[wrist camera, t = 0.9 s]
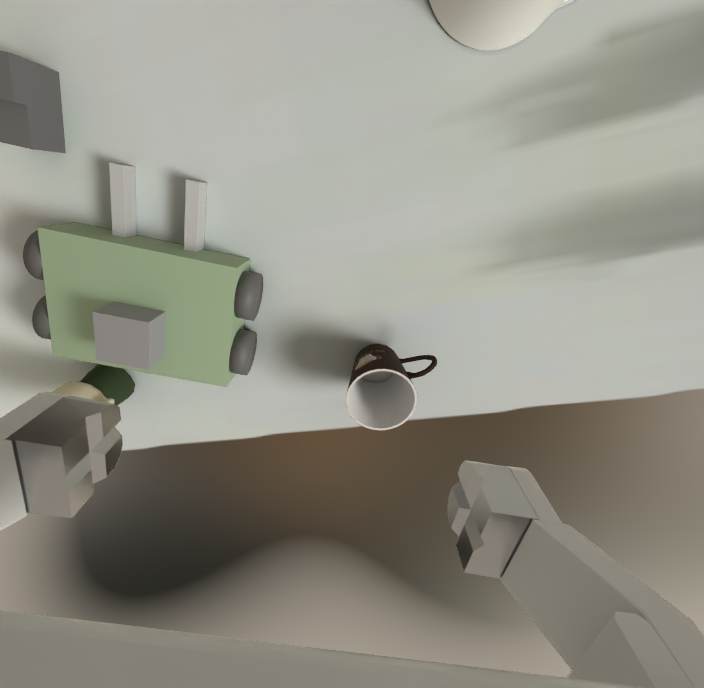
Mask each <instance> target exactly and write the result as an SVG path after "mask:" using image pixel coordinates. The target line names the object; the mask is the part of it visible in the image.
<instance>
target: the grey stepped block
mask: <svg viewBox="0 0 704 688" xmlns="http://www.w3.org/2000/svg"><path fill="white" fill-rule="evenodd" d="M0 142H3V143H7V144H12V145H16V146H21V147H25V148H30V149H36V150H44V151H53V152H61V153H66V152H65V140H64V128H63V116H62V104H61V92H60V80H59V72H57V71H54V70H52V69H49V68H46V67H44V66H41V65H39V64H36V63H34V62H31V61H28V60H26V59H23V58H21V57H18V56H16V55H13V54H10V53H8V52H4V51H0Z"/></svg>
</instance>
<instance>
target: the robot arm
mask: <svg viewBox="0 0 704 688" xmlns="http://www.w3.org/2000/svg"><path fill="white" fill-rule="evenodd" d="M573 1H575V0H429V2H430V5H431V7H432V10H433V12H434V14H435V16H436V18H437V20H438V21H439V23H440V24H441V26H442V27H443V28H444V29H445V31H446V32H447V33H448V34H449V35H450V36H451V37H453V38H454V39H455V40H457V41H458V42H460V43H461V44H463V45H465V46H468V47H470V48H474V49H478V50H497V49H502V48H506V47H509V46H511V45H513V44H516V43H518V42H519V41H521V40H523V39H524V38H526V37H527V36H528V35H530V34H531V33H532V32H533V31H535V30H536V29H537V28H538V27H539V26H540V25H541V24H542V23H543V22H544V21H545V19H546V18H547V17H548V16H549V15H550V14H551V13H553V12H554V11H555V10H556V9H558V8H561V7H563V6H565V5H567V4H569V3H571V2H573ZM120 420H121V415H120V408H119V407H118V406H117V405H116V404H113V403H108V402H102V401H97V400H91V399H86V398H80V397H75V396H68V395H63V394H57V393H51V392H44V393H39V394H37V395H36V396H34V397H33V398H31V399H30V400H28V401H26V402H25V403H23V404H22V405H20V406H19V407H17V408H16V409H14V410H13V411H11V412H10V413H8V414H6V415H5V416H3V417H2V418H0V531H1V530H2V529H4V528H6V527H8V526H9V525H11V524H13V523H15V522H16V521H18V520H20V519H22V518H23V517H25V516H27V513H30V514H40V515H49V516H58V517H67V518H72V517H73V516H74V515H75V514H76V513H77V511H78V510H79V509H80V508H81V507H82V506H83V504H84V503H85V502H86V501H87V500H88V499H89V497H90V496H91V495H92V494H93V493H94V492H93V484H94V483H96V482H98V481H100V480H102V479H104V478H106V477H107V476H108V475H109V474H110V473H111V471H112V470H113V469H114V468H115V466H116V464H117V462H118V459H119V457H120V455H121V450H122V435H121V434H120V433H119V431H118V430H117V429H116V428H115V426H116V425H117V424H118V423H119V421H120ZM458 475H459V478H460V482H459V483H457V484H456V485H455V486H453V487H452V489H451V492H450V495H449V499H448V518H449V522H450V526H451V528H452V529H453V530H454V531H455V533H456V534H457V535H458V536H459V539H458V541H457V543H456V547H457V551H458V554H459V557H460V561H461V564H462V568H463V571H464V572H466V573H472V574H478V575H483V576H489V577H495V578H501V582H502V583H503V584H504V585H505V587H506V588H507V589H508V590H509V592H510V593H511V594H512V596H513V597H514V598H515V599H516V600H517V602H518V603H519V604H520V605H521V607H522V608H523V609H524V611H525V612H526V613H527V614H528V615H529V617H530V618H531V619H532V620H533V622H534V623H535V624H536V626H537V627H538V628H539V629H540V631H541V632H542V633H543V634H544V636H545V637H546V638H547V639H548V640H549V642H550V643H551V644H552V646H553V647H554V648H555V649H556V651H557V652H558V653H559V654H560V656H561V657H562V658H563V659H564V661H565V662H566V663H567V664H568V666H569V667H570V668H571V669H572V671H571V672H570V673H569V675H568V676H567V677H566V678H563V677H555V676H547V675H537V674H530V673H522V672H513V671H505V670H496V669H488V668H479V667H472V666H463V665H455V664H446V663H438V662H429V661H421V660H413V659H403V658H395V657H387V656H378V655H370V654H362V653H353V652H345V651H336V650H328V649H320V648H311V647H302V646H294V645H285V644H277V643H269V642H260V641H253V640H243V639H236V638H227V637H219V636H211V635H202V634H193V633H186V632H178V631H169V630H161V629H153V628H144V627H135V626H128V625H120V624H119V625H118V624H111V623H103V622H94V621H86V620H78V619H69V618H61V617H53V616H44V615H35V614H28V613H19V612H11V611H3V610H0V688H704V635H703V634H702V633H701V631H700V630H699V629H698V627H697V626H696V625H695V624H694V622H693V621H692V620H691V619H690V618H689V617H687V616H686V615H685V614H683V613H682V612H681V611H680V610H678V609H677V608H676V607H674V606H673V605H672V604H671V603H669V602H668V601H667V600H665V599H664V598H663V597H661V596H660V595H659V594H658V593H656V592H655V591H654V590H652V589H651V588H650V587H649V586H647V585H646V584H645V583H643V582H642V581H641V580H639V579H638V578H637V577H636V576H634V575H633V574H632V573H630V572H629V571H628V570H627V569H625V568H624V567H623V566H621V565H620V564H619V563H618V562H616V561H615V560H614V559H613V558H611V557H610V556H609V555H607V554H606V553H605V552H604V551H602V550H601V549H600V548H598V547H597V546H596V545H594V544H593V543H592V542H591V541H589V540H588V539H587V538H585V537H584V536H583V535H582V534H580V533H579V532H578V531H576V530H575V529H574V528H572V527H571V526H570V525H567V524H562V522H561V520H560V519H559V517H558V516H557V514H556V513H555V511H554V509H553V508H552V506H551V504H550V503H549V501H548V500H547V498H546V496H545V495H544V493H543V492H542V490H541V488H540V487H539V485H538V484H537V482H536V480H535V479H534V477H533V476H532V474H531V473H530V472H529V471H528V470H527V469H525V468H517V467H509V466H498V465H491V464H485V463H479V462H472V461H464V462H463V463H462V465H461V466H460V469H459V471H458Z"/></svg>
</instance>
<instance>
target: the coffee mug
mask: <svg viewBox="0 0 704 688" xmlns="http://www.w3.org/2000/svg"><path fill="white" fill-rule="evenodd" d="M423 359H427V360H432V363H431V364H430V366H428V367H427V368H426V369H425V370H423V371H420V372H417V373H411V372H406V371H405V369H404V367H403V365H402V363H406V362H411V361H417V360H423ZM436 365H437V359H436V357H434V356H432V355H422V356H416V357H410V358H405V359H399V358H398V357H397V355H396V353H395V352H394V351H393V350H392V349H391V348H389V347H388V346H385V345H381V344H373V345H369V346H367V347H365V348H364V349H362V350H361V351H360V352H359V354H358V355H357V357H356V360H355V364H354V368H353V371H352V375H351V379H350V383H349V387H348V390H347V395H346V406H347V409H348V412H349V414H350V415H351V417H352V418H353V419H354V420H355V421H356V422H357V423H359V424H360V425H362V426H364V427H366V428H370V429H373V430H387V429H392V428H395V427H398V426H399V425H401V424H403V423H404V422H406V421H407V420H408V419H409V418H410V417H411V415H412V414H413V412H414V410H415V408H416V404H417V393H416V389H415V387H414V385H413V383H412V382H411V380H410V379H411V378H416V377H420V376H423V375H425V374H427V373H429V372H430V371H431V370H432V369H434V367H435V366H436Z"/></svg>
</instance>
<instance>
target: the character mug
mask: <svg viewBox="0 0 704 688" xmlns="http://www.w3.org/2000/svg"><path fill="white" fill-rule="evenodd" d="M134 387H135V384H134V382H133V380H132V378H131V376H130V375H129V374H128V373H127V372H126V371H125V370H124V369H123V368H118V367H112V366H107V365H101V364H98V365H97V366H96V367H94V368H93V369H92V370H91V371H90V372H89V373H88V374H87V375H86V376H85V377H84V378H83V379H82V380H81V381H80V382H69V383H67V384H65V385H63V386H61V387H60V388H58V389H56V390H55V391H53V392H52V393H57V394H63V395H68V396H75V397H80V398H86V399H91V400H97V401H102V402H108V403H113V404H116V405H119V404H120V403H121V402H123V401H124V400H126V399H127V398H128V397H129V396H130V395H131V394H132V393H133V392H134Z"/></svg>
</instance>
